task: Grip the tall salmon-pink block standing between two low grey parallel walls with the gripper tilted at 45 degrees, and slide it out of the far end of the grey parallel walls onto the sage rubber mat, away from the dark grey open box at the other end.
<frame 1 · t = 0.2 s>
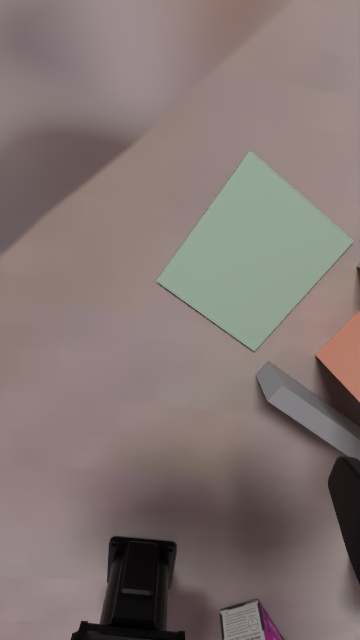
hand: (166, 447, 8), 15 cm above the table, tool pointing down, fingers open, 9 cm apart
sage mat: (251, 261, 21), on the table
candy bar box: (257, 627, 35), on the table
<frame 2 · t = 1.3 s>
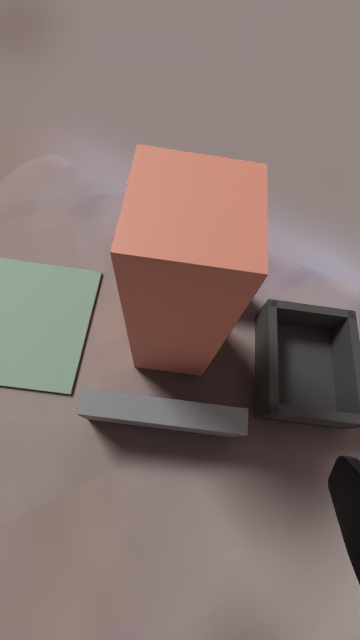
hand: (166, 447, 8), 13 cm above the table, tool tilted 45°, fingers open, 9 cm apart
dark grey open box: (296, 368, 23), on the table
sage mat: (28, 320, 23), on the table
grey parallel walls: (172, 339, 23), on the table
salmon-pink block: (172, 339, 23), on the table
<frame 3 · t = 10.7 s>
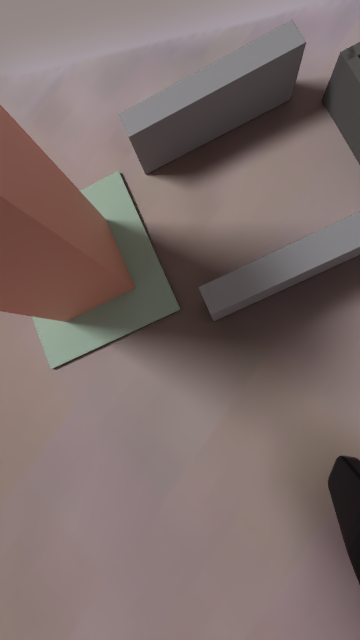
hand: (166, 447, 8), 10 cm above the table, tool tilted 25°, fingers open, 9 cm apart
sage mat: (86, 269, 19), on the table
grey parallel walls: (244, 191, 18), on the table
salmon-pink block: (85, 270, 19), resting on sage mat
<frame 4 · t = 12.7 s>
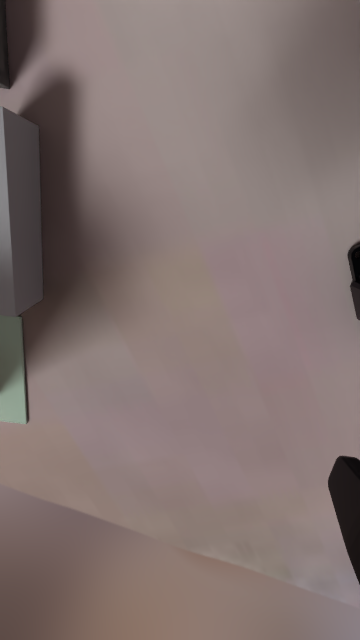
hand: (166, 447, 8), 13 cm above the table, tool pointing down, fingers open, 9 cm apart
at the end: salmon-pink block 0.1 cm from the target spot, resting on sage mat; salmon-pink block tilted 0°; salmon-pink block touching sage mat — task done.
